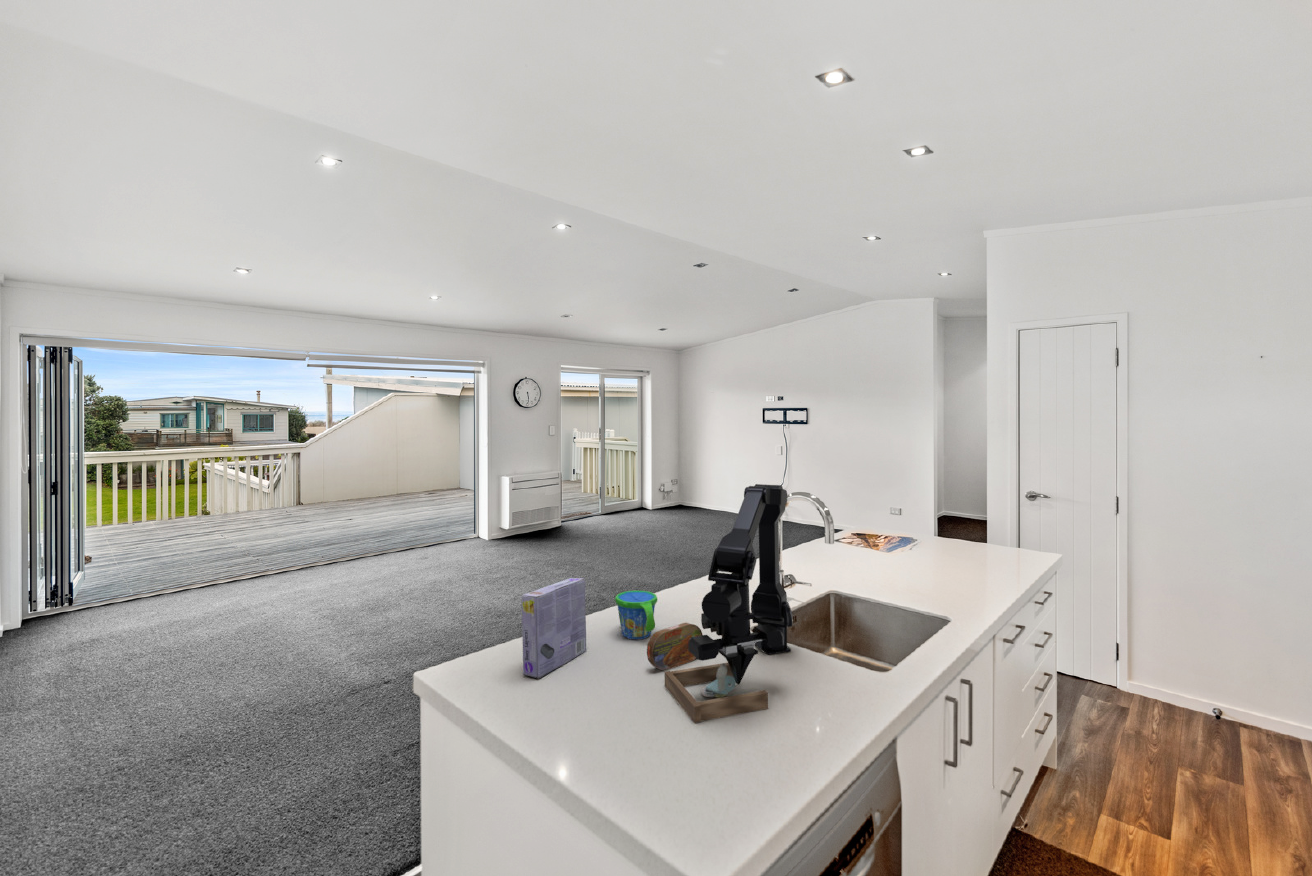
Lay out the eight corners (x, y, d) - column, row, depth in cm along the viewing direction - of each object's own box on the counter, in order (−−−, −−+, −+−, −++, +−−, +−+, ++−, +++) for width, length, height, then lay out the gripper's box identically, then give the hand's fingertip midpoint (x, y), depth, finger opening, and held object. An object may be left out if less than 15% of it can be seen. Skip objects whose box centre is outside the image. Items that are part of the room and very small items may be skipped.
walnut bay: (731, 675, 125) (730, 661, 125) (768, 709, 110) (768, 693, 110) (664, 686, 120) (664, 671, 120) (694, 723, 105) (694, 706, 105)
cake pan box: (573, 646, 143) (572, 574, 142) (590, 649, 140) (589, 576, 140) (520, 676, 126) (519, 594, 125) (538, 680, 123) (537, 597, 123)
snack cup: (667, 642, 144) (667, 601, 144) (627, 649, 140) (627, 607, 140) (644, 623, 159) (644, 586, 159) (607, 628, 155) (607, 590, 155)
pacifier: (695, 697, 116) (721, 704, 112) (693, 666, 115) (719, 672, 112) (714, 683, 121) (739, 689, 118) (712, 653, 121) (737, 658, 118)
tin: (653, 675, 126) (653, 636, 126) (644, 670, 128) (644, 632, 128) (704, 657, 135) (704, 621, 135) (695, 653, 138) (695, 617, 137)
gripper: (756, 590, 127) (758, 660, 127) (676, 601, 121) (679, 676, 121) (784, 604, 116) (786, 681, 117) (698, 618, 110) (701, 699, 111)
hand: (737, 683), depth 117 cm, fingers closed, pressing on pacifier
